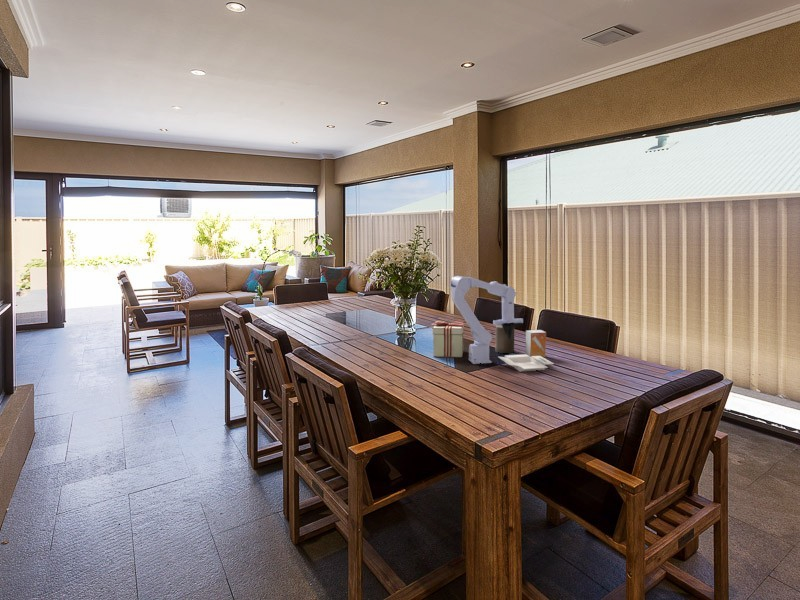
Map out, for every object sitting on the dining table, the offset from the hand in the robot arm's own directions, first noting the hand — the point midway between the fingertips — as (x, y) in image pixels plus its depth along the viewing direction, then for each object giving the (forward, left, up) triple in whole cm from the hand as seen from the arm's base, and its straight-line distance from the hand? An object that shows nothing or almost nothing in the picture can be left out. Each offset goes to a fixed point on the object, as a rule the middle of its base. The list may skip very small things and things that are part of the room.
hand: (508, 338), depth 231 cm
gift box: (-26, +17, -11) cm, 33 cm away
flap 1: (-6, -14, -7) cm, 17 cm away
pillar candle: (+4, +14, -11) cm, 18 cm away
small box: (+15, +1, -11) cm, 18 cm away
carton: (+3, -14, -11) cm, 18 cm away
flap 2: (+11, -14, -8) cm, 19 cm away
